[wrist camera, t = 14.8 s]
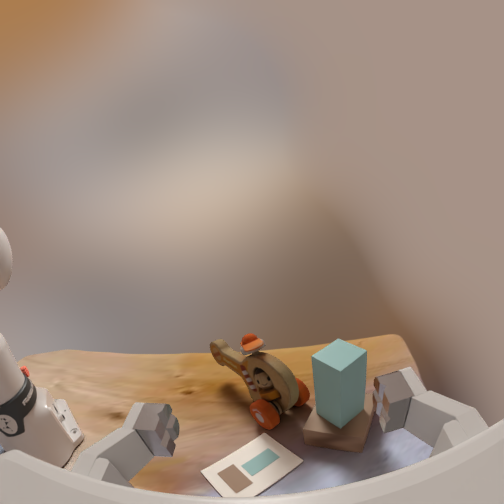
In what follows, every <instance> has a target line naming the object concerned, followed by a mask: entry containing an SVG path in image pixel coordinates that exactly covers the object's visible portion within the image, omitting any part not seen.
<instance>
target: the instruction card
mask: <svg viewBox="0 0 504 504" xmlns="http://www.w3.org/2000/svg"><path fill="white" fill-rule="evenodd" d="M303 461H304V460H302V459H301V458H299V457H298V456H296V455H295V454H293V453H292V452H291V451H289V450H288V449H286V448H285V447H284V446H282V445H281V444H279V443H278V442H277V441H275V440H274V439H273V438H271V437H270V436H269V435H267V434H266V433H265V432H264V433H263V434H261V435H260V436H258V437H257V438H255V439H254V440H252V441H251V442H249V443H248V444H246V445H245V446H243V447H241V448H240V449H238V450H237V451H235V452H233V453H232V454H230V455H228V456H227V457H225V458H223V459H222V460H220V461H218V462H216V463H215V464H213V465H211V466H209V467H207V468H206V469H204V470H202V471H201V473H202V474H203V475H204V476H205V477H206V479H207V480H208V481H209V482H210V483H211V484H212V486H213V487H214V488H215V489H216V490H217V491H218V492H219V493H220V494H221V496H222V497H255V496H256V495H258V494H259V493H261V492H262V491H264V490H265V489H267V488H268V487H270V486H271V485H273V484H274V483H276V482H277V481H278V480H280V479H281V478H282V477H284V476H285V475H286V474H288V473H289V472H290V471H292V470H293V469H294V468H296V467H297V466H298V465H299V464H301V463H302V462H303Z"/></svg>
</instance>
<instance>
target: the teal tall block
mask: <svg viewBox="0 0 504 504" xmlns="http://www.w3.org/2000/svg"><path fill="white" fill-rule="evenodd" d="M311 357H312V367H313V378H314V389H315V401H316V413H317V414H319V415H320V416H322V417H323V418H325V419H326V420H328V421H329V422H331V423H332V424H334V425H335V426H337V427H338V428H340V429H341V428H342V427H343V426H344V425H346V424H347V423H348V422H349V421H350V420H352V419H353V418H354V417H355V416H356V415H357V414H359V413H360V412H361V411H362V410H363V409H364V400H365V385H366V364H367V350H364V349H362V348H359V347H357V346H355V345H352V344H350V343H348V342H345V341H343V340H340V339H337V340H335V341H334V342H332V343H331V344H329V345H328V346H326V347H325V348H323V349H322V350H320V351H319V352H317V353H316V354H314V355H312V356H311Z"/></svg>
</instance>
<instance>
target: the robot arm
mask: <svg viewBox="0 0 504 504" xmlns="http://www.w3.org/2000/svg"><path fill="white" fill-rule="evenodd" d="M12 264H13V259H12V251H11V247H10V243H9V240H8V238H7V237H6V234H5V233H4V231H3V230H2V229H1V227H0V291H1V290H2V289H3V288H5V287H6V286H7V285H8V283H9V280H10V277H11V273H12ZM28 376H29V371H28V369H27V367H25V366H23V367H21V368H19V366H18V364H17V362H16V360H15V358H14V356H13V354H12V352H11V350H10V348H9V346H8V344H7V342H6V340H5V338H4V336H3V335H2V334H1V333H0V444H1V446H2V447H3V448H4V450H5V451H6V452H5V453H3V454H1V455H0V504H504V419H503V420H501V421H499V422H498V423H496V424H495V425H493V426H491V427H490V428H488V426H487V425H486V423H485V422H484V420H483V419H482V417H481V416H480V414H479V413H478V411H477V410H476V409H475V408H473V407H470V406H468V405H465V404H463V403H460V402H457V401H455V400H453V399H450V398H447V397H445V396H442V395H440V394H438V393H435V392H433V391H427V390H426V389H425V387H424V386H423V384H422V383H421V381H420V380H419V378H418V377H417V375H416V374H415V372H414V371H413V369H412V368H411V367H408V368H404V369H401V370H398V371H395V372H392V373H388V374H385V375H381V376H378V377H375V379H374V387H375V390H374V392H373V398H372V399H373V406H374V410H375V412H376V414H378V415H379V416H380V420H379V422H380V425H381V427H382V430H383V432H384V433H387V432H390V431H394V430H397V429H400V428H404V429H406V430H407V431H409V432H410V433H412V434H413V435H415V436H416V437H418V438H419V439H421V440H422V441H424V442H425V443H427V444H428V445H430V446H431V447H433V450H432V453H431V455H430V457H429V458H428V459H425V460H423V461H420V462H418V463H415V464H412V465H410V466H407V467H404V468H401V469H399V470H396V471H393V472H389V473H386V474H383V475H380V476H376V477H373V478H369V479H366V480H362V481H358V482H354V483H350V484H345V485H341V486H336V487H331V488H326V489H320V490H314V491H308V492H301V493H293V494H283V495H272V496H257V497H204V496H189V495H178V494H169V493H162V492H155V491H148V490H142V489H137V488H134V487H133V486H132V485H131V484H130V483H129V482H128V481H129V480H130V479H132V478H133V477H134V476H135V475H136V474H137V473H138V472H139V471H140V470H141V469H142V468H143V467H144V466H145V465H146V464H147V463H148V462H149V461H150V460H151V459H152V458H153V457H154V456H165V457H172V456H173V453H174V449H175V446H176V445H175V443H174V440H175V439H176V438H178V435H179V423H178V420H177V418H176V417H175V416H174V415H172V414H171V412H172V409H171V407H170V405H169V404H157V403H137V402H136V403H135V404H133V406H132V408H131V410H130V412H129V414H128V416H127V418H126V420H125V422H124V424H123V426H122V428H118V429H116V430H115V431H113V432H112V433H110V434H109V435H107V436H106V437H104V438H103V439H101V440H100V441H98V442H96V443H95V444H93V445H92V446H90V447H89V448H87V449H86V450H84V451H82V452H81V453H80V455H79V457H78V459H77V461H76V463H75V465H74V466H73V468H72V470H71V471H69V470H66V469H63V468H61V467H62V466H63V465H64V464H65V463H66V462H67V461H68V460H69V458H70V456H71V454H72V452H73V450H74V449H75V447H76V446H78V445H79V444H80V443H81V441H82V440H83V439H84V435H83V433H82V431H81V429H80V428H79V426H78V424H77V422H76V420H75V418H74V416H73V414H72V412H71V410H70V408H69V406H68V404H67V402H66V401H65V400H64V399H53V397H52V396H51V394H50V393H49V391H48V390H47V389H46V388H42V387H35V386H34V385H33V384H32V382H31V380H30V379H28Z"/></svg>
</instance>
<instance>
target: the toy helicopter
mask: <svg viewBox="0 0 504 504" xmlns="http://www.w3.org/2000/svg"><path fill="white" fill-rule="evenodd" d="M240 344H241V346H242V347H241V349H240V350H241V352H242V354H240V353H238V352H236V351H234V350H232V349H231V348H230V347H229V346H228V344H227V343H226V342H225V341H224V340H222V339H219V340H216V341H213V342H211V344H210V350H211V353H212V355H213V357H214V359H215V360H216V361H217V363H218V364H220V365H221V366H225V365H226V366H227V367H229V368H230V369H232V370H233V371H234V372H236V373H237V374H238V375H240V376H241V377H242V378H243V380H244V382H245V383H246V385H247V387H248V389H249V392H250V396H251V398H252V399H253V400H254V401H255V402H253V403H252V404H251V405H250V412H251V414H252V416H253V417H254V419H255V420H256V421H257V423H258V424H259V425H260V426H262V427H263V428H265V429H269V430H270V429H272V428H274V427H275V426H276V425H278V424H279V422H280V417H279V415H280V414H281V413H283V412H285V411H287V410H288V409H290V408H291V407H292V406H293V405H295V406H301V405H303V404H304V403H305V402H307V401H308V400H309V397H310V393H309V390H308V388H307V387H306V385H305V384H304V383H303V382H302V381H301V380H299V379H298V378H295V376H294V375H293V373H292V372H291V370H290V369H289V368H288V367H287V366H286V365H285V364H284V363H283V362H282V361H280V360H279V359H277V358H276V357H274V356H272V355H270V354H267V353H263V352H259V351H258V350H260V349H262V348H263V347H264V346H265V343H264V341H263V340H262V339H258V338H257V336H255V335H254V334H247V335H245V336H244V337H243V338H242V342H241V343H240ZM251 353H252V355H250V356H248V357H246V356H244V355H248V354H251Z"/></svg>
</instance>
